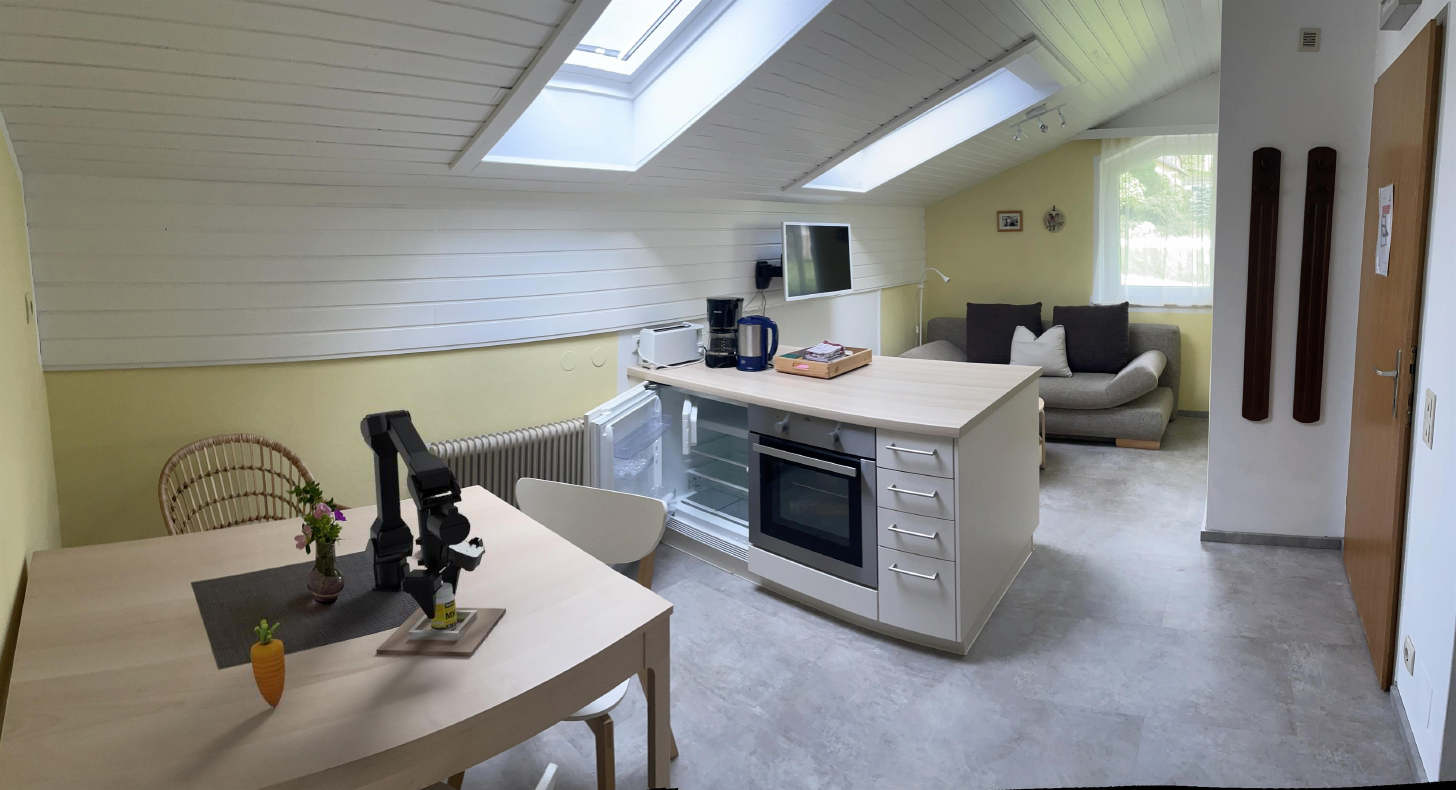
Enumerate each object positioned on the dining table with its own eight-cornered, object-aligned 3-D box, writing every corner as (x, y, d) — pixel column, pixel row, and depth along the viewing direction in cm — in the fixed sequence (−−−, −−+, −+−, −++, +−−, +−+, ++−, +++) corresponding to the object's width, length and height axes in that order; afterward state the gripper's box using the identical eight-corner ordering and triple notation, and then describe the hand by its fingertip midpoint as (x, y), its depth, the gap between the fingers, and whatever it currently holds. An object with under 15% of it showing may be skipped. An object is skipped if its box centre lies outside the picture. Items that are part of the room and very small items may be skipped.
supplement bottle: (449, 634, 159) (445, 592, 158) (426, 632, 160) (422, 591, 159) (462, 622, 164) (458, 582, 163) (439, 621, 165) (436, 580, 163)
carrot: (265, 699, 140) (254, 615, 137) (296, 697, 140) (285, 613, 137) (251, 716, 135) (239, 629, 132) (284, 714, 135) (272, 627, 132)
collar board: (376, 653, 154) (375, 642, 154) (420, 610, 172) (419, 599, 171) (471, 656, 153) (470, 644, 152) (506, 612, 170) (505, 601, 170)
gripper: (456, 549, 148) (463, 631, 151) (494, 514, 167) (500, 588, 170) (395, 548, 149) (404, 630, 152) (440, 513, 168) (447, 587, 171)
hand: (442, 607), depth 161 cm, fingers open, 9 cm apart
